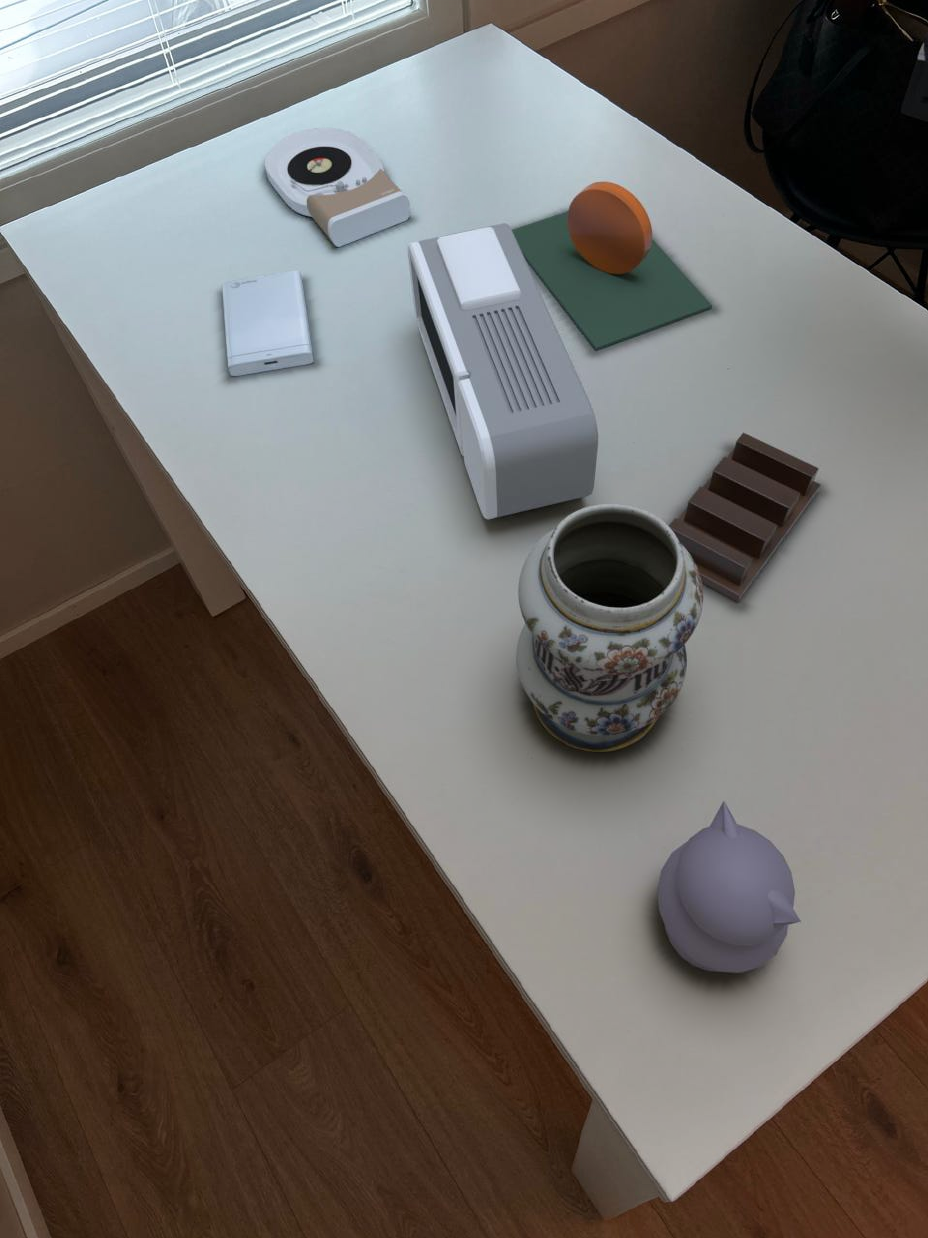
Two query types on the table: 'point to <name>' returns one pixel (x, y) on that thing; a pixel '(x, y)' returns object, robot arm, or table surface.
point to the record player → (335, 183)
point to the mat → (608, 286)
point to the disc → (609, 227)
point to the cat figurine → (726, 897)
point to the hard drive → (266, 323)
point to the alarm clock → (502, 372)
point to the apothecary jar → (606, 625)
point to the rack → (744, 513)
